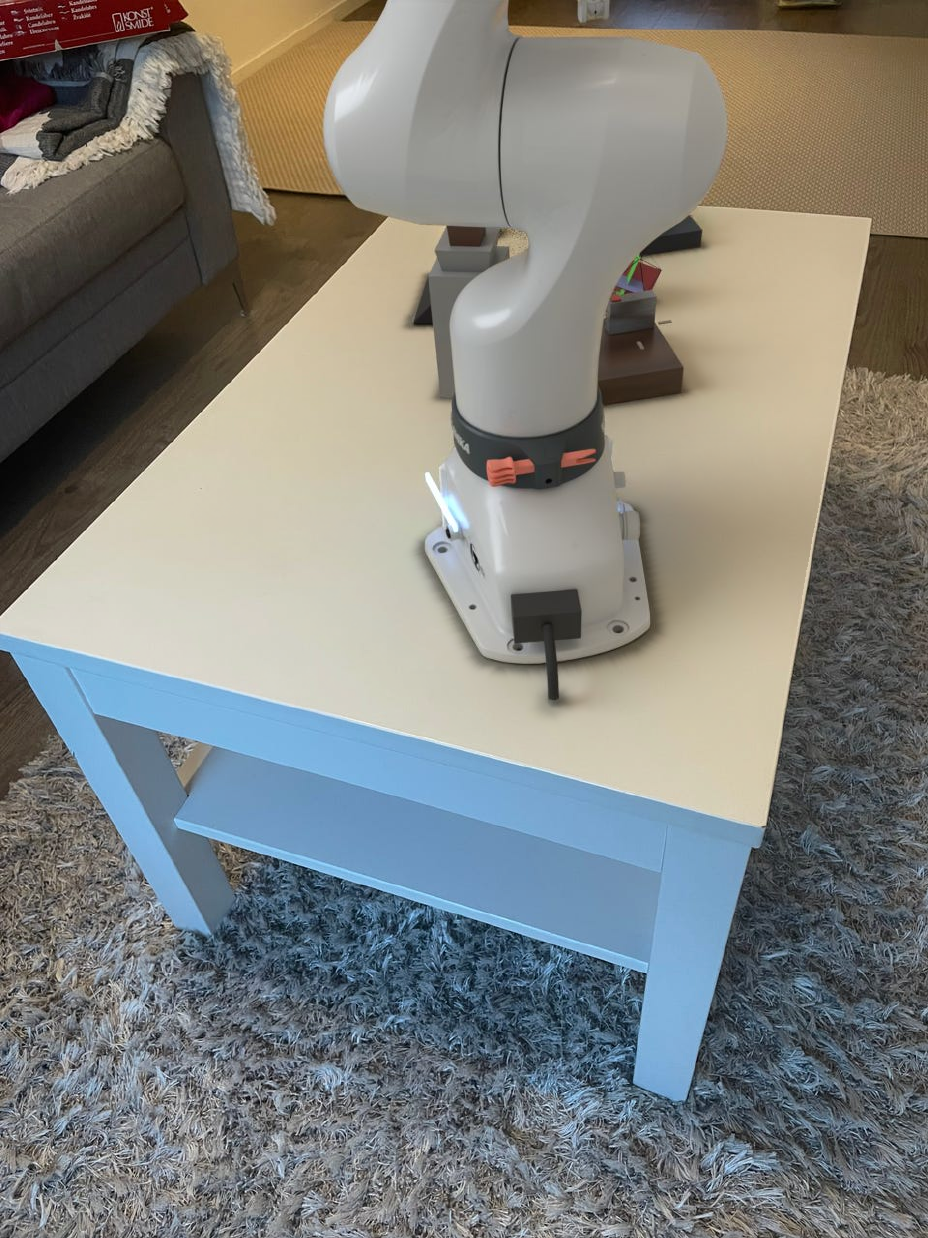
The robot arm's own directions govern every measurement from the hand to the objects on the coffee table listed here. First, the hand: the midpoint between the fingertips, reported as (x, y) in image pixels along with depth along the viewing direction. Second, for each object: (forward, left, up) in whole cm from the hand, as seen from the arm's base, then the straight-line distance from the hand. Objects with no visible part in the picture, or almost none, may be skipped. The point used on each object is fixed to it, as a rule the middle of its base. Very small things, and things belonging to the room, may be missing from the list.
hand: (593, 19), depth 101 cm
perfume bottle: (-22, +18, -27) cm, 39 cm away
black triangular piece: (-3, +18, -27) cm, 33 cm away
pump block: (+7, -10, -27) cm, 30 cm away
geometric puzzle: (-10, -2, -27) cm, 29 cm away
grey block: (-21, +1, -24) cm, 32 cm away
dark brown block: (-23, +2, -27) cm, 36 cm away
